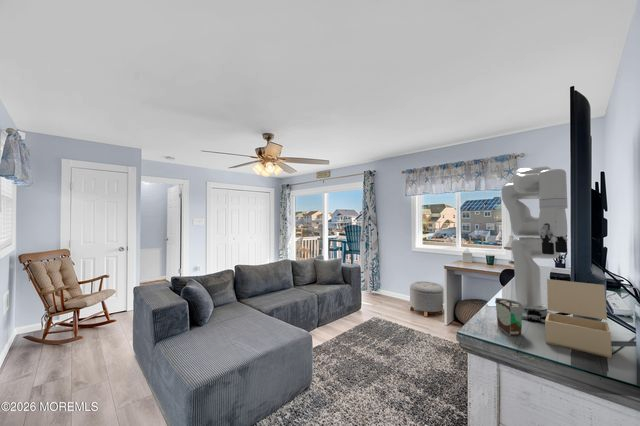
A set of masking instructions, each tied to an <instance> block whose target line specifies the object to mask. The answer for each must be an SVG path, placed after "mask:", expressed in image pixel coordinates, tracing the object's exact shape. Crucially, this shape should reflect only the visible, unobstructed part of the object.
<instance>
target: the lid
mask: <svg viewBox="0 0 640 426" xmlns="http://www.w3.org/2000/svg"><path fill="white" fill-rule="evenodd" d="M605 286H606V285H605V284H598V283H590V282H589V283H587V282H579V281H578V282H577V281H569V280H560V279H553V278H552V279H551V278H550V279H549V278H546V287H547V288H546V290H547V292H546V293H547V294H546V295H547V299H546V300H547V311H551V312H557V313H561V314H563V313H564V314H569V315H575V316H580V317H581V316H582V317H587V318H593V319H599V320H605V321H607V320H608V316H607V315H608V314H607V300H606V299H607V298H606V287H605Z"/></svg>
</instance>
